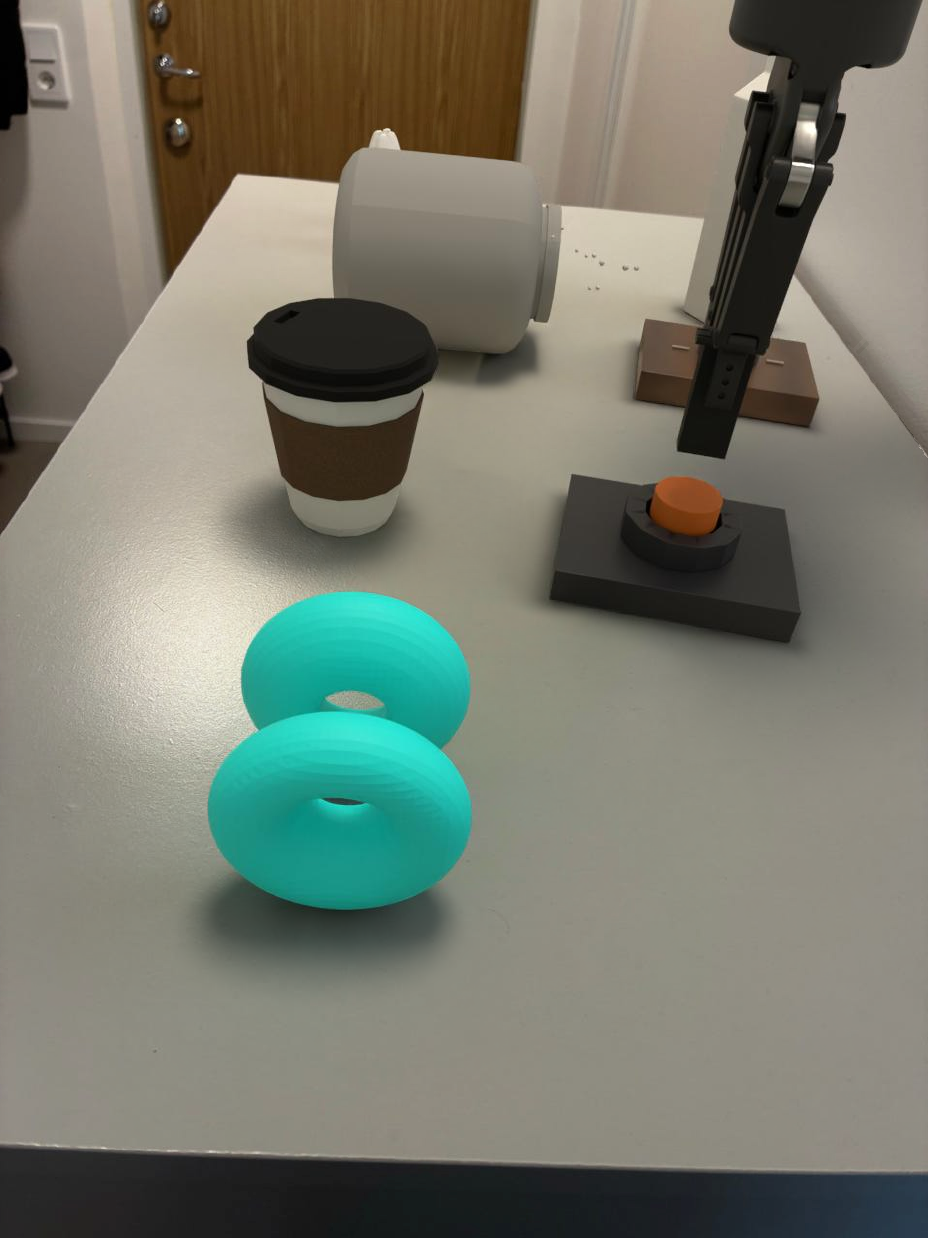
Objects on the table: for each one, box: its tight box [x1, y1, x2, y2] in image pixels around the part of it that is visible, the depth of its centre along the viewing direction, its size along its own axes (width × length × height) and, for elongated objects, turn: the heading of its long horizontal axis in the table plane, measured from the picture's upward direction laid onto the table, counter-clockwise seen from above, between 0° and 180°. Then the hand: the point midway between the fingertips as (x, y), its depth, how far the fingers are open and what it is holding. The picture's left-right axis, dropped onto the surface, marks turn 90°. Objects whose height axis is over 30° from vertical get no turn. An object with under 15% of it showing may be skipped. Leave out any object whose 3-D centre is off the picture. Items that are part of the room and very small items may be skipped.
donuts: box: [207, 590, 473, 911], centre depth 39 cm, size 10×10×10 cm
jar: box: [331, 147, 640, 355], centre depth 78 cm, size 19×15×25 cm
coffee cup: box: [246, 297, 440, 538], centre depth 57 cm, size 11×11×12 cm
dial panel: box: [634, 318, 820, 427], centre depth 80 cm, size 14×11×3 cm
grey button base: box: [549, 473, 802, 643], centre depth 58 cm, size 14×11×4 cm
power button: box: [650, 475, 724, 536], centre depth 56 cm, size 4×4×2 cm
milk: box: [682, 56, 776, 323], centre depth 85 cm, size 6×6×22 cm
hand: (700, 448), depth 54 cm, fingers closed
